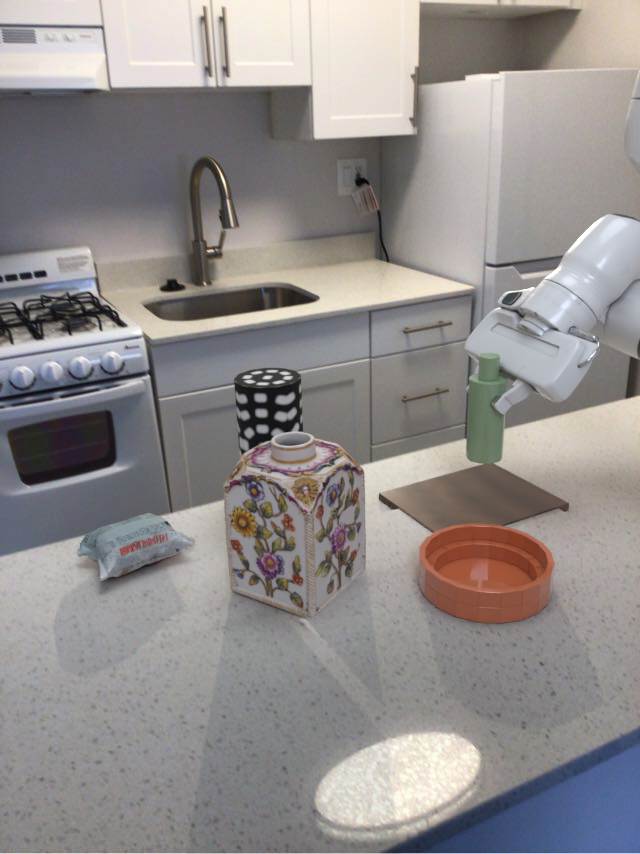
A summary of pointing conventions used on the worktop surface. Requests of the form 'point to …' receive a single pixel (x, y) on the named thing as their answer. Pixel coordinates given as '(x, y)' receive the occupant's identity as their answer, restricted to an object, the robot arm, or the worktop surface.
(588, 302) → the robot arm
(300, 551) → the decorative jar
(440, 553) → the bowl
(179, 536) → the packaged food
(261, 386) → the spotted tube
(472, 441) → the bottle
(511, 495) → the board
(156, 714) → the worktop surface
